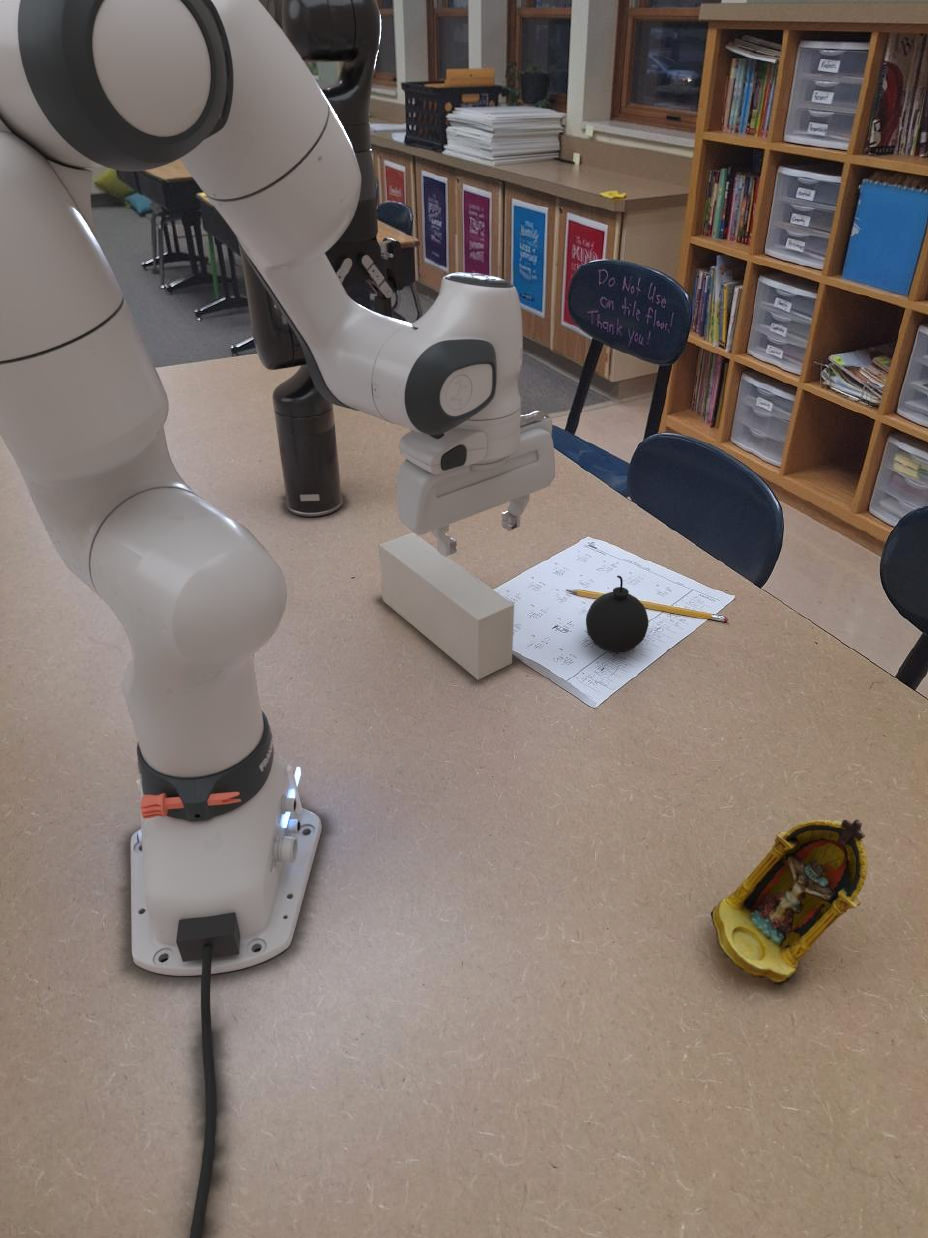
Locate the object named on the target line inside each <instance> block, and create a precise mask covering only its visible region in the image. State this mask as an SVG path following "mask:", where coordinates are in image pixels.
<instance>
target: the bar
mask: <svg viewBox="0 0 928 1238" xmlns="http://www.w3.org/2000/svg"><path fill="white" fill-rule="evenodd" d="M378 549H379V550H378V551H379V552H378V553H379V565H380V579H381V595H382V596H381V597H382V602H384V603H385V604H386V605H387V606H388V607H390V608H391V609H392V610H393V611H395V613H397V614H398V615H399V616H401V618H403V619H404V620H405V621H406V622H408V623H409V624H410V625H411V626H412V627H413V628H415V629H416V630H417V631H419V633H420V634H422V635H423V636H425V637H426V639H428V640H429V641H430V642H432V643H433V644H434V645H435V646H436V647H437V648H439V650H441V651H442V652H444V653H445V654H446V655H447V656H448V657H449V658H451V659H452V660H453V661H454V662H455V663H457V664H458V665H459V666H460V667H461V668H463V669H464V670H465V671H466V672H467V673H468V674H470V675H471V676H472V677H473V678H474V679H476V680H481V679H483V678H485V677H488V676H490V675H491V674H493V673H496V672H497V671H499V670H502V669H504V668H506V667H508V666H510V665H512V664H513V647H514V645H513V643H514V621H515V620H514V619H515V618H514V617H515V604H514V603H513V602H511V601H510V600H509V599H507V598H506V597H504V596H503V595H502V594H500V593H499V592H497V591H496V590H494V589H493V588H492V587H490V586H489V585H488V584H486V583H484V582H483V581H482V580H480V579H479V578H478V577H476V576H475V575H473V574H472V573H471V572H470V571H468V570H466V569H465V568H464V567H462V566H461V565H460V564H458V563H456V561H454V560H452V559H451V558H450V557H449V556H447V557H444V556H443V555H442V554H440V553H439V551H438V548H435V547H434V546H432V545H431V544H430V543H428V542H427V541H426V540H424V539H423V538H422V537H420V536H418V534H417V533H415V532H409V533H407V534H404V535H401V536H398V537H396V538H393V539H391V540H388V541H387V540H386V541H385V542H382V543H379V544H378Z"/></svg>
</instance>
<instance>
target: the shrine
mask: <svg viewBox="0 0 928 1238" xmlns="http://www.w3.org/2000/svg"><path fill="white" fill-rule="evenodd" d="M862 827H863V823H862V822H861V821H860V820H859V819H857V818H856V819H854V821H853V822H851V821H850V820H848V819H843V820H842V821H841V820H837V819H836V820H835V819H834V820H833V819H827V818H826V819H821V818H820V819H819V818H818V819H810V820H807V821H804V822H801V823H798V824H796V825H795V826H793V827H792V828H790V829H789V830H787V831H783V830H782V831H779V832H778V833H777V834H776V837H775V838H774V842H775V843H774V844H773V845H771V847H772V848H771V849H770V851H769V852H767V853H766V855H765V856H764V858H762V859H761V861H760V862H759V863H758V864H757V866H756V867H755V868H754V869H753V870H752V871H751V872H750V874H749V875H748V876H747V877H746V878H744V879H743V881H742V882H741V884H740V885H739V886H738V887H736V889H735V891H733V892H732V893H730V895H728V896H727V897H725V898H724V899H722V900H721V901H719V903H718V905H716V906H714V908H713V909H712V911H710V918H711V922H712V924H713V927H714V930H715V934H716V935H715V936H716V938H717V941H716V942H717V944H718V946H719V948H720V949H721V951H722V952H723V953H724V955H725V957H727V958H728V959H729V960H730V962H731V963H733V965H735V966H736V967H737V968H738V969H739V970H741V971H744V972H746V973H747V974H749V975H750V976H751V977H754V978H760V979H767V980H770V981H772V983H773V985H775V986H783V985H784V984H785V983H788V982H789V981H790V980H791V976H792V975H794V973H796V972H797V968H798V964H799V962H800V960H801V959H803V958H804V956H805V955H806V953H807V952H809V951H810V950H811V949H812V947H813V945H814V943H816V941H817V940H818V939H819V938H820V937H821V936H822V935H823V934H824V932H825V931H827V929H828V928H830V926H832V925H834V922H836V921H837V919H839V918H840V917H841V916H842V915H844V914H845V913H847V912H848V910H849V909H856V908H857V907H858V906H860V905H861V900H860V898H859V897H858V896H859V894H860V893H861V890H862V889H863V887H864V885H865V882H866V880H867V875H868V855H867V851H866V847H865V843H864V840H863V839H864V838H865V837H866V834H865V833H863V831H862Z"/></svg>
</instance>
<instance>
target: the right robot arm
mask: <svg viewBox="0 0 928 1238" xmlns="http://www.w3.org/2000/svg"><path fill="white" fill-rule="evenodd" d="M259 2H260V3H261V4H262V5H263V6H264V8H265V9H266V10H267V11H268V13H269V14H270V15H271V17H272V18H273V19H274V20H275V22H276V23H277V24H278V26H279V27H280V28H281V29H282V31H283V32H284V34H285V35H286V36H287V38H288V39H289V41H290V42H291V43H292V45H293V46H294V48H295V49H296V50H297V52H298V53H299V55H300V56H301V58H302V59H303V61H304V63H338V62H342V63H341V67H340V72H339V74H338V77H337V79H336V80H335V81H334V82H332V83H331V84H329V85H327V86H322V87H320V88H321V90H322V92H323V93H324V95H325V97H326V99H327V100H328V102H329V104H330V105H331V107H332V109H333V111H334V112H335V114H336V116H337V118H338V119H339V121H340V123H341V125H342V127H343V128H344V130H345V132H346V134H347V136H348V138H349V141H350V143H351V145H352V148H353V150H354V153H355V156H356V159H357V162H358V166H359V169H360V173H361V190H360V197H359V201H358V205H357V209H356V211H355V214H354V217H353V219H352V221H351V223H350V224H349V226H348V228H347V229H346V230H345V232H344V233H343V234H342V236H341V237H340V238H339V239H338V241H337V242H336V243H335V244H334V245H333V246H332V247H331V248H330V249H329V250H328V251H326V252H325V255H326V256H327V258H328V260H329V262H330V264H331V266H332V267H333V269H334V271H335V273H336V275H337V277H338V278H339V280H340V282H341V284H342V286H343V288H346V287H350V286H352V285H353V284H358V285H362V284H366V283H367V284H368V285H369V286H370V287H371V288H372V290H373V291H374V292H375V294H376V295H374V312H376V313H378V314H381V315H384V316H387V317H390V318H393V311H392V309H393V308H392V296H393V294H395V293H396V292H398V291H402V290H404V288H405V277H404V265H403V256H402V255H403V254H402V244H401V242H400V241H399V240H396V239H393V238H390V237H384V238H383V239H382V241H379V242H378V237H377V236H378V233H379V222H378V206H377V187H376V186H377V185H376V173H375V172H376V171H375V165H374V159H373V153H372V140H371V139H372V138H371V123H370V104H371V95H372V89H373V81H374V74H375V69H376V62H377V57H378V53H379V48H380V42H381V34H382V33H381V32H382V19H381V12H380V8H379V5H378V2H377V0H259ZM237 244H238V248H239V255H240V259H241V265H242V272H243V276H244V285H245V292H246V299H247V306H248V313H249V320H250V326H251V327H250V328H251V333H252V339H253V344H254V347H255V351H256V353H257V356H258V359H259V361H260V362H261V364H262V366H263V367H264V368H265V369H267V370H269V371H278V370H284V369H290V368H296V367H299V368H298V370H297V371H296V372H295V373H293V375H292V376H290V377H289V378H288V379H286V380H285V381H283V382H282V383H280V384H278V385H277V386H276V387H275V388H274V390H273V392H272V406H273V412H274V419H275V426H276V433H277V441H278V449H279V457H280V462H281V463H280V464H281V470H282V478H283V486H284V493H285V506H286V509H287V510H288V511H289V512H290V513H292V514H294V515H297V516H300V517H308V518H309V517H310V518H311V517H312V518H313V517H321V516H326V515H329V514H332V513H334V512H336V511H338V510H339V509H340V508H341V507H342V505H343V503H344V501H343V495H342V487H341V486H342V485H341V474H340V464H339V463H340V462H339V454H338V443H337V435H336V434H337V433H336V423H335V412H334V411H335V410H334V404H332V403H330V402H329V401H327V400H326V399H325V398H324V397H323V396H322V395H321V394H320V393H319V392H318V390H317V389H316V387H315V385H314V383H313V381H312V378H311V376H310V373H309V370H308V366H307V363H306V359H305V356H304V353H303V350H302V347H301V344H300V342H299V340H298V338H297V336H296V334H295V333H294V331H293V329H292V328H291V326H290V325H289V323H288V322H287V320H286V319H285V317H284V316H283V314H282V313H281V311H280V310H279V308H278V307H277V305H276V304H275V302H274V301H273V299H272V298H271V296H270V294H269V293H268V291H267V290H266V288H265V287H264V285H263V284H262V282H261V281H260V279H259V278H258V276H257V275H256V273H255V271H254V270H253V268H252V267H251V265H250V263H249V262H248V260H247V258H246V257H245V255H244V253H243V251H242V249H241V247H240V245H239V243H238V242H237ZM380 256H381V259H383V265H384V272H385V273H384V274H385V276H384V275H383V274H382V272H381V271H380V270H379V268H378V267H377V265H376V264H377V263H378V260H379V258H380Z"/></svg>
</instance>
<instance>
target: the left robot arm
mask: <svg viewBox="0 0 928 1238" xmlns="http://www.w3.org/2000/svg"><path fill="white" fill-rule="evenodd" d="M321 88H322V87H320V84H319V83H318V81H317V80H316V78H315V77H314V75H313V73H312V72H311V70H310V69H309V67H308V66H307V64H306V62H304V61H303V59H302V58H301V56H300V55H299V53H298V52H297V50H296V49H295V48H294V46H293V45H292V43H291V42H290V41H289V39H288V38H287V36H286V35H285V34H284V32H283V31H282V29H281V28H280V27H279V26H278V24H277V23H276V22H275V20H274V19H273V18H272V17H271V15H270V14H269V13H268V11H267V10H266V9H265V8H264V6H263V5H262V4H261V3H260V2H259V0H0V438H1V440H2V441H3V443H4V445H5V446H6V448H7V449H8V451H9V453H10V455H11V456H12V458H13V460H14V462H15V464H16V466H17V467H18V470H19V472H20V474H21V476H22V478H23V481H24V483H25V485H26V488H27V491H28V494H29V496H30V498H31V501H32V504H33V505H34V507H35V509H36V512H37V514H38V516H39V518H40V520H41V522H42V524H43V526H44V528H45V531H46V533H47V535H48V537H49V539H50V541H51V543H52V545H53V547H54V549H55V551H56V552H57V555H59V557H60V559H61V560H62V562H63V563H64V565H65V566H66V568H67V569H68V570H69V571H70V572H71V573H72V574H73V575H74V576H75V577H76V578H77V579H79V580H80V581H81V582H82V583H83V584H84V585H85V586H86V587H87V588H89V590H91V591H92V592H93V593H94V594H95V595H96V596H98V597H99V598H100V599H101V600H102V601H103V603H105V604H106V605H107V606H108V607H109V609H110V610H111V611H112V612H113V614H114V616H115V617H116V618H117V620H118V621H119V623H120V624H121V626H122V628H123V629H124V632H125V634H126V636H127V639H128V641H129V645H130V651H131V659H130V660H129V662H128V663H127V665H126V667H125V669H124V672H123V674H122V678H121V691H122V694H123V698H124V701H125V703H126V707H127V711H128V714H129V717H130V721H131V724H132V727H133V730H134V733H135V737H136V741H137V743H136V744H137V745H136V756H137V758H136V759H137V762H136V763H137V772H138V778H137V780H136V782H135V783H136V785H137V788H138V791H139V807H140V810H139V811H140V828H139V829H137V830H136V831H135V832H134V833H133V834H132V836H131V838H130V916H131V917H130V924H131V925H130V926H131V927H130V928H131V931H130V933H131V934H130V935H131V955H132V960H133V963H134V965H136V966H137V967H139V968H140V969H143V970H146V971H148V972H150V973H153V974H160V975H164V976H174V977H175V976H176V977H194V976H201V978H200V979H201V980H200V1016H201V1017H200V1020H201V1021H200V1022H201V1042H202V1060H203V1071H204V1073H203V1074H204V1088H205V1120H204V1123H205V1124H204V1138H203V1150H202V1159H201V1165H200V1173H199V1179H198V1185H197V1192H196V1198H195V1203H194V1209H193V1213H192V1214H193V1215H192V1219H191V1225H190V1232H189V1238H202V1236H203V1235H202V1234H203V1228H204V1222H205V1216H206V1210H207V1202H208V1197H209V1191H210V1185H211V1180H212V1179H211V1178H212V1171H213V1164H214V1155H215V1143H216V1129H217V1094H216V1093H217V1092H216V1091H217V1090H216V1075H215V1064H214V1051H213V1036H212V1035H213V1034H212V1015H211V1013H212V1011H211V983H212V982H211V981H212V979H211V978H212V975H216V974H222V973H223V974H224V973H228V972H234V971H238V970H243V969H246V968H250V967H253V966H256V965H258V964H261V963H264V962H266V961H268V960H271V959H272V958H274V957H276V956H278V955H280V954H281V953H282V952H284V951H285V950H287V949H288V948H289V947H290V945H291V944H292V942H293V941H292V940H293V937H294V934H295V930H296V927H297V924H298V920H299V916H300V912H301V908H302V905H303V902H304V897H305V893H306V889H307V886H308V882H309V878H310V874H311V871H312V867H313V864H314V860H315V857H316V853H317V850H318V846H319V841H320V838H321V834H322V828H323V825H322V822H321V818H320V817H319V816H318V815H317V814H316V813H315V812H312V811H310V810H309V809H306V808H303V805H302V802H301V796H300V792H299V788H298V787H299V786H298V785H299V782H300V778H301V775H302V773H301V767H300V766H296V769H295V770H294V768H293V766H291V765H290V764H289V763H288V762H287V761H286V760H284V759H283V758H281V757H280V756H279V755H278V753H276V752H275V749H274V739H273V738H274V737H273V732H272V728H271V726H270V723H269V720H268V718H267V715H266V714H265V712H264V710H263V709H262V705H261V700H260V694H259V688H258V683H257V682H258V681H257V677H256V671H255V670H256V669H255V654H256V653H257V652H259V651H260V650H261V649H262V648H264V646H265V645H266V644H267V643H268V642H269V641H270V640H271V638H272V637H273V636H274V634H275V633H276V631H277V629H278V627H279V626H280V624H281V622H282V619H283V617H284V614H285V611H286V607H287V601H288V586H287V585H288V584H287V580H286V576H285V574H284V572H283V569H282V568H281V567H280V565H279V563H278V562H277V561H276V560H275V559H274V557H273V556H272V554H270V552H269V551H268V550H267V549H266V547H265V546H264V544H262V543H261V541H259V539H258V538H256V536H255V535H254V534H253V533H252V532H251V531H250V530H249V528H247V527H246V526H244V524H242V523H241V522H239V521H238V520H236V519H234V518H232V517H231V516H230V515H228V514H227V513H225V512H223V511H221V510H220V509H218V508H217V507H215V506H214V505H212V504H211V503H210V502H208V501H206V500H205V499H204V498H202V497H201V496H200V495H198V494H197V493H196V492H195V491H194V490H193V489H192V488H191V487H190V485H189V484H187V483H186V481H185V480H184V478H182V476H181V475H180V473H179V472H178V470H177V469H176V467H175V465H174V463H173V461H172V457H171V455H170V451H169V447H168V442H167V438H166V432H165V425H166V422H167V419H168V415H169V411H170V403H169V398H168V394H167V392H166V389H165V386H164V384H163V382H162V380H161V378H160V375H159V372H158V371H157V369H156V366H155V364H154V362H153V359H152V357H151V355H150V352H149V350H148V348H147V346H146V343H145V341H144V339H143V337H142V334H141V332H140V330H139V327H138V325H137V323H136V320H135V318H134V316H133V313H132V312H131V309H130V307H129V305H128V303H127V300H126V298H125V295H124V294H123V291H122V289H121V286H120V285H119V282H118V281H117V278H116V276H115V273H114V271H113V269H112V267H111V264H110V263H109V261H108V260H107V258H106V255H105V253H104V252H103V250H102V248H101V245H100V244H99V242H98V239H99V237H98V234H97V231H96V226H95V222H94V217H93V210H92V200H91V199H92V196H91V194H92V180H93V171H92V170H91V169H112V170H114V171H118V172H119V171H120V172H134V173H135V172H142V171H143V172H144V171H149V170H153V169H157V168H160V167H163V166H167V165H170V164H172V163H174V162H176V161H178V160H180V162H181V163H182V164H183V166H184V167H185V169H186V170H187V172H188V174H189V175H190V176H191V178H192V179H193V180H194V181H195V183H196V184H197V185H198V187H199V188H200V190H201V191H202V192H203V193H204V194H205V196H206V198H207V199H208V200H209V201H210V203H211V204H212V205H213V207H214V208H215V210H216V211H217V212H218V213H219V214H220V216H221V218H222V219H223V220H224V221H225V222H226V224H227V225H228V227H229V228H230V229H231V231H232V232H233V234H234V236H235V239H236V241H237V244H238V243H239V244H238V246H239V245H240V247H241V249H242V251H243V253H244V255H245V257H246V258H247V260H248V262H249V263H250V265H251V267H252V268H253V270H254V271H255V273H256V275H257V276H258V278H259V279H260V281H261V282H262V284H263V285H264V287H265V288H266V290H267V291H268V293H269V294H270V296H271V298H272V299H273V301H274V303H275V304H276V305H277V307H278V308H279V310H280V311H281V313H282V314H283V316H284V317H285V319H286V320H287V322H288V323H289V325H290V326H291V328H292V329H293V331H294V333H295V334H296V336H297V338H298V340H299V342H300V344H301V347H302V350H303V353H304V356H305V359H306V363H307V366H308V370H309V373H310V376H311V378H312V381H313V383H314V385H315V387H316V389H317V390H318V392H319V393H320V394H321V395H322V396H323V397H324V398H325V399H326V400H327V401H329V402H330V403H332V404H333V406H338V407H341V408H344V409H349V410H352V411H356V412H362V413H364V414H367V415H369V416H372V417H375V418H377V419H380V420H382V421H385V422H387V423H390V424H392V425H397V426H399V427H402V428H405V429H408V430H410V431H408V432H406V433H405V434H404V435H403V436H402V437H401V438H400V439H399V442H398V450H399V454H400V455H401V456H402V457H404V458H405V460H404V461H403V462H402V464H401V465H400V467H399V469H398V472H397V478H396V479H397V480H396V510H397V517H398V520H399V521H400V523H401V524H403V525H404V526H405V527H406V528H407V529H409V530H410V531H412V533H414V534H416V535H419V536H422V535H425V534H428V533H431V534H432V535H433V536H434V538H435V539H436V540H437V541H436V543H437V550H438V551H439V553H440V554H442V555H443V556H444V557H449V556H451V555H453V554H454V555H455V554H456V553H457V552H458V550H457V546H458V544H457V543H458V542H457V539H455V538H454V537H453V538H452V537H451V536H450V535H449V534H446V533H448V532H449V530H450V525H451V524H454V523H457V522H459V521H462V520H465V519H467V518H471V517H472V516H475V515H478V514H481V513H483V512H486V511H488V510H491V509H494V508H496V507H499V506H502V505H504V504H507V503H509V505H508V507H507V510H506V511H505V512H502V513H501V526H502V528H503V529H506V531H507V532H511V531H513V530H516V529H519V528H520V527H521V516H522V515H523V513H524V511H525V509H526V507H527V506H528V503H529V502H530V495H531V494H533V493H536V492H538V491H541V490H544V489H547V488H549V487H550V486H551V484H552V482H553V481H554V479H555V476H556V457H555V447H554V440H553V437H552V435H553V420H552V418H551V416H550V414H549V413H546V412H543V411H542V410H535V411H532V412H530V413H529V414H522V397H521V394H520V389H519V377H520V374H521V371H522V367H523V356H524V355H523V353H524V349H523V348H524V346H523V345H524V341H523V340H524V337H523V335H524V333H523V315H522V307H521V300H520V296H519V292H518V289H517V288H516V287H515V285H514V284H512V283H511V282H510V281H509V280H507V279H505V278H501V277H498V276H494V275H490V274H484V273H475V272H466V271H465V272H464V271H463V272H462V271H461V272H460V271H459V272H458V271H457V272H452V273H449V274H447V275H444V276H443V277H442V278H441V282H440V286H439V293H438V295H437V297H436V299H435V301H434V302H433V303H432V305H430V308H428V310H427V311H426V312H425V313H424V314H423V315H422V316H421V317H420V318H418V319H417V320H415V321H414V322H412V323H411V322H407V321H404V320H401V319H397V318H394V317H392V318H390V317H387V316H384V315H381V314H378V313H376V312H375V311H373V310H372V309H368V308H366V307H365V306H362V305H361V304H359V303H357V302H356V301H355V300H354V299H352V298H351V296H349V295H348V293H347V291H346V289H345V287H343V286H342V284H341V282H340V280H339V278H338V277H337V275H336V273H335V271H334V269H333V267H332V266H331V264H330V262H329V260H328V258H327V256H326V255H325V252H326V251H328V250H329V249H330V248H331V247H332V246H333V245H334V244H335V243H336V242H337V241H338V239H339V238H340V237H341V236H342V234H343V233H344V232H345V230H346V229H347V228H348V226H349V224H350V223H351V221H352V219H353V217H354V214H355V211H356V209H357V205H358V201H359V197H360V190H361V173H360V169H359V166H358V162H357V159H356V156H355V153H354V150H353V148H352V145H351V143H350V141H349V138H348V136H347V134H346V132H345V130H344V128H343V127H342V125H341V123H340V121H339V119H338V118H337V116H336V114H335V112H334V111H333V109H332V107H331V105H330V104H329V102H328V100H327V99H326V97H325V95H324V93H323V92H322V90H321ZM294 771H295V772H294ZM257 949H258V951H256V952H255V950H257ZM259 949H260V950H259ZM165 959H167V960H165ZM163 960H165V961H163ZM162 961H163V962H162Z"/></svg>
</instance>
